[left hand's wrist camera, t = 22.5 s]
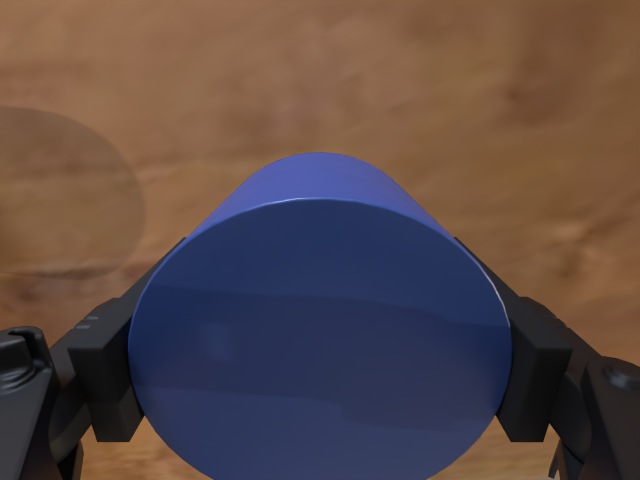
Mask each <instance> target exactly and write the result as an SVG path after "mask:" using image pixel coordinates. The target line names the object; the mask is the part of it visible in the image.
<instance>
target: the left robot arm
mask: <svg viewBox="0 0 640 480" xmlns="http://www.w3.org/2000/svg"><path fill="white" fill-rule="evenodd" d="M186 238H187V237H184V238H183V239H182V240H181V241H180V242H179V243H177V244H176V245H175V246H174V247H173V248H172V249H171V250H170V251H169V252H168V253H167V254H166V255H165V256H164V257H163V258H162V259H161V260H159V261H158V262H157V263H156V264H155V265H154V266H153V267H152V268H151V269H150V270H149V271H148V272H147V273H146V274H145V275H144V276H142V277H141V278H140V279H139V280H138V281H137V282H136V283H135V284H134V285H133V286H132V287H131V288H130V289H129V290H128V291H127V292H126V293H124V294H123V295H122V296H121V297H120V298H112V299H110V300H108V301H107V302H105V303H103V304H101V305H99V306H97V307H96V308H95V309H93V310H92V311H91V312H90V313H89V314H88V315H87V316H86V317H84V320H81V321H80V322H79V323H78V324H77V325H75V326H74V329H71V330H70V331H69V332H67V333H66V334H65V335H64V336H63V337H62V338H61V339H60V340H58V341H57V342H56V343H55V344H54V345H53V346H52V347H51V348H49V349H48V346H47V343H46V340H45V337H44V334H43V331H42V330H41V329H39V328H37V327H32V326H22V327H14V328H9V329H6V330H2V331H0V480H80V476H81V469H82V462H83V456H84V452H83V446H82V443H81V440H80V439H81V438H82V436H83V435H84V434H85V432H86V431H87V429H88V428H89V427H90V425H91V424H92V427H93V430H94V433H95V436H96V439H97V442H130V440H131V438H132V436H133V435H134V433H135V431H136V429H137V428H138V426H139V424H140V422H141V421H142V419H143V417H144V413H143V411H142V408H141V406H140V404H139V402H138V400H137V398H136V395H135V392H134V388H133V385H132V382H131V378H130V371H129V364H128V337H129V332H130V327H131V322H132V317H133V314H134V311H135V308H136V306H137V303H138V301H139V298H140V296H141V293H142V292H143V290H144V288H145V287H146V285H147V283H148V282H149V280H150V278H151V277H152V275H153V274H154V272H155V271H156V270H157V269H158V268H159V266H160V265H161V264H162V263H163V262H164V260H165V259H166V258H167V257H168V256H169V255H170V254H171V253H172V252H173V251H174V250H175V249H176V248H177V247H178V246H179V245H180V244H181V243H182V242H183V241H184V240H185V239H186ZM453 238H454V239H455V240H456V241H457V242H458V243H459V244H460V245H461V246H462V247H463V248H464V249H465V250H466V251H467V252H468V253H469V254H470V255H471V256H472V257H473V258H474V259H475V260H476V261H477V262H478V263H479V264H480V265H481V266H482V268H483V269H484V271H485V272H486V273H487V275H488V276H489V277H490V279H491V280H492V282H493V283H494V285H495V287H496V289H497V291H498V293H499V295H500V297H501V299H502V301H503V303H504V307H505V310H506V313H507V316H508V320H509V323H510V329H511V337H512V345H513V349H512V368H511V373H510V377H509V382H508V387H507V389H506V392H505V395H504V397H503V400H502V403H501V405H500V407H499V409H498V411H497V412H496V414H495V415H496V417H497V418H498V420H499V422H500V424H501V425H502V427H503V429H504V431H505V432H506V434H507V436H508V438H509V439H510V441H511V442H543V440H544V437H545V434H546V431H547V428H548V425H549V423H550V424H551V426H552V427H553V429H554V430H555V431H556V433H557V434H558V435H559V437H560V440H559V443H558V446H557V449H556V451H555V454H554V457H553V460H552V463H551V466H550V469H549V475H548V477H551V478H553V479H554V477H555V474H556V472H557V470H559V475H560V480H640V367H638V366H636V365H634V364H632V363H629V362H626V361H623V360H620V359H617V358H611V357H605V356H601V355H600V354H599V353H597V352H596V351H595V350H594V349H593V348H592V347H591V346H589V345H588V344H587V343H586V342H585V341H584V340H583V339H581V338H580V337H579V336H578V335H577V334H576V333H575V332H574V331H572V330H571V329H570V328H567V325H566V324H564V323H563V322H562V321H561V320H560V319H557V318H556V316H555V315H554V314H553V313H552V312H551V311H550V310H548V309H547V308H546V307H545V306H544V305H542V304H540V303H538V302H536V301H534V300H532V299H530V298H529V297H519V296H518V295H517V294H516V293H515V292H514V291H513V290H511V289H510V288H509V287H508V286H507V285H506V284H505V283H504V282H503V281H502V280H501V279H500V278H499V277H498V276H497V275H496V274H495V273H493V272H492V271H491V270H490V269H489V268H488V267H487V266H486V265H485V264H484V263H483V262H482V261H481V260H480V259H479V258H478V257H476V256H475V255H474V254H473V253H472V252H471V251H470V250H469V249H468V248H467V247H466V246H465V245H464V244H463V243H462V242H461V241H460V240H458V239H457V238H456V237H453Z"/></svg>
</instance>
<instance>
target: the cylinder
mask: <svg viewBox="0 0 640 480" xmlns="http://www.w3.org/2000/svg"><path fill="white" fill-rule="evenodd" d="M512 349H513V345H512V337H511V329H510V323H509V320H508V316H507V313H506V310H505V307H504V303H503V301H502V299H501V297H500V295H499V293H498V291H497V289H496V287H495V285H494V283H493V282H492V280H491V279H490V277H489V276H488V275H487V273H486V272H485V271H484V269H483V268H482V266H481V265H480V264H479V263H478V262H477V261H476V260H475V259H474V258H473V257H472V256H471V255H470V254H469V253H468V252H467V251H466V250H465V249H464V248H463V247H462V246H461V245H460V244H459V243H458V242H457V241H456V240H455V239H454V238H453V237H452V236H451V235H450V234H449V233H448V232H447V231H446V230H445V229H444V228H443V227H442V226H441V225H440V224H439V223H438V222H437V221H435V220H434V219H433V218H432V217H431V216H430V215H429V214H428V213H427V212H426V211H425V210H424V209H423V208H422V207H421V206H420V205H419V204H418V203H417V202H416V201H415V200H414V199H413V198H412V197H411V196H410V195H408V194H407V193H406V192H405V191H404V190H403V189H402V188H401V187H400V186H399V185H398V184H397V183H396V182H395V181H394V180H393V179H392V178H390V177H389V176H388V175H386V174H385V173H384V172H382V171H381V170H380V169H378V168H376V167H374V166H372V165H370V164H369V163H367V162H364V161H361V160H359V159H356V158H354V157H349V156H345V155H341V154H334V153H324V152H322V153H305V154H299V155H294V156H290V157H287V158H284V159H281V160H278V161H276V162H274V163H272V164H269V165H267V166H265V167H264V168H262V169H261V170H259V171H258V172H256V173H254V174H253V175H252V176H251V177H249V178H248V179H247V180H246V181H245V182H244V183H243V184H242V185H241V186H239V187H238V188H237V189H236V190H235V191H234V192H233V193H232V194H231V195H230V196H229V197H228V198H227V199H226V200H225V201H224V202H223V203H222V204H221V205H220V206H219V207H218V208H217V209H216V210H215V211H214V212H213V213H212V214H211V215H210V216H209V217H208V218H207V219H206V220H205V221H204V222H202V223H201V224H200V225H199V226H198V227H197V228H196V229H195V230H194V231H193V232H192V233H191V234H190V235H189V236H188V237H187V238H186V239H185V240H184V241H183V242H182V243H181V244H180V245H179V246H178V247H177V248H176V249H175V250H174V251H173V252H172V253H171V254H170V255H169V256H168V257H167V258H166V259H165V260H164V262H163V263H162V264H161V265H160V266H159V268H158V269H157V270H156V271H155V272H154V274H153V275H152V277H151V278H150V280H149V282H148V283H147V285H146V287H145V288H144V290H143V292H142V293H141V296H140V298H139V301H138V303H137V306H136V308H135V311H134V314H133V317H132V322H131V327H130V332H129V337H128V364H129V371H130V378H131V382H132V385H133V388H134V392H135V395H136V398H137V400H138V402H139V404H140V406H141V408H142V411H143V413H144V415H145V416H146V418H147V419H148V421H149V422H150V424H151V425H152V427H153V428H154V430H155V431H156V433H157V434H158V435H159V436H160V437H161V438H162V440H163V441H164V442H165V443H166V444H167V445H168V447H170V448H171V449H172V450H173V451H174V452H175V453H176V454H177V455H178V456H180V457H181V458H182V459H183V460H184V461H186V462H187V463H188V464H190V465H191V466H192V467H194V468H195V469H197V470H198V471H199V472H201V473H203V474H205V475H206V476H208V477H210V478H212V479H213V480H426V479H428V478H430V477H432V476H434V475H435V474H437V473H438V472H440V471H441V470H443V469H444V468H446V467H448V466H449V465H451V464H452V463H453V462H454V461H455V460H457V459H458V458H459V457H460V456H461V455H463V454H464V453H465V452H466V451H467V450H468V449H469V448H470V447H471V446H472V445H473V444H474V443H475V442H476V441H477V440H478V439H479V438H480V436H481V435H482V434H483V432H484V431H485V430H486V428H487V427H488V426H489V424H490V423H491V421H492V420H493V418H494V416H495V414H496V412H497V411H498V409H499V407H500V405H501V403H502V400H503V397H504V395H505V392H506V389H507V387H508V382H509V377H510V373H511V368H512Z"/></svg>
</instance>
